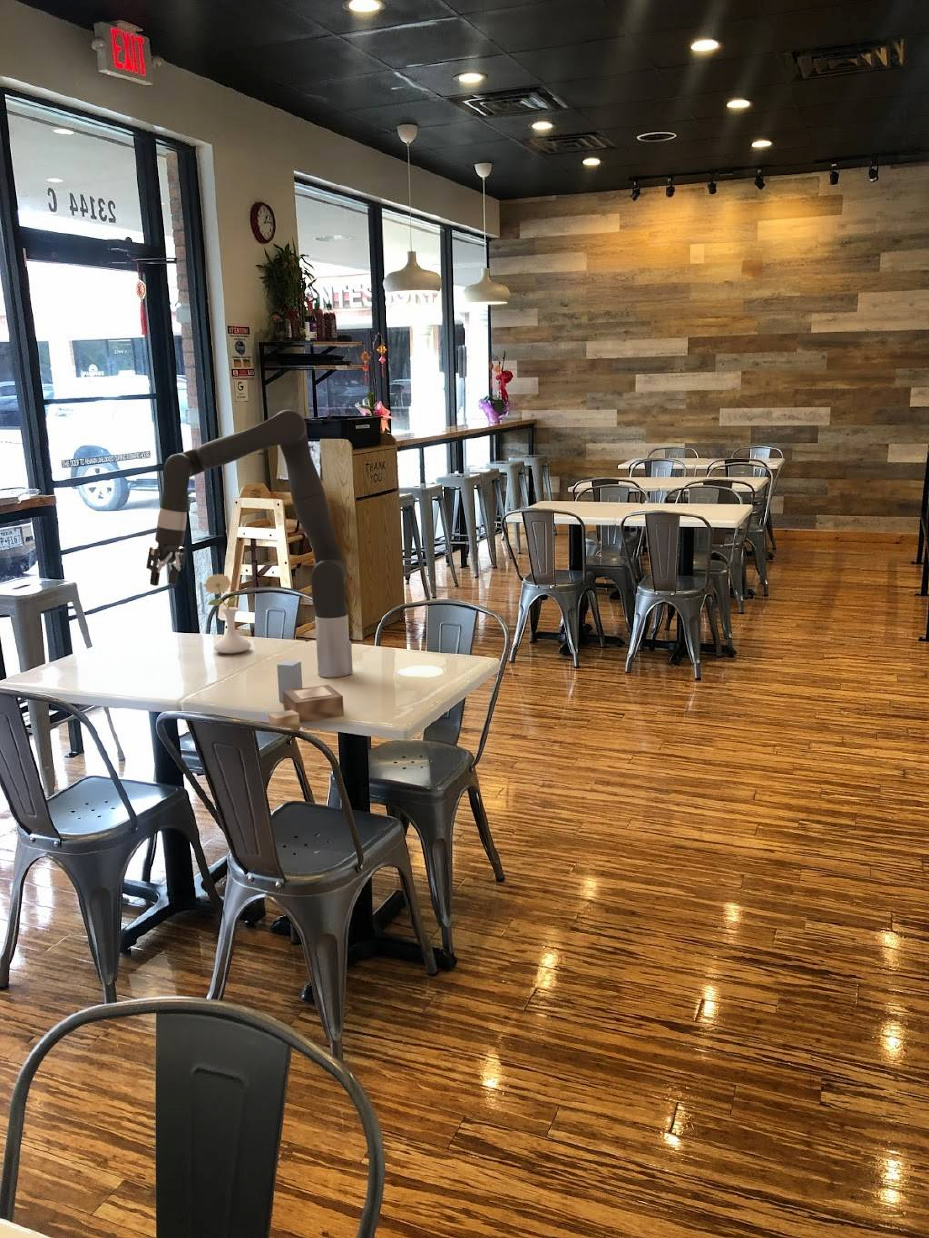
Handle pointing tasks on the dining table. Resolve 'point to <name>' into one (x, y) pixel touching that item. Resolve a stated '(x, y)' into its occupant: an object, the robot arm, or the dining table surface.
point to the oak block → (285, 719)
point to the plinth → (314, 702)
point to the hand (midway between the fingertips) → (163, 584)
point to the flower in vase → (231, 639)
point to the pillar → (289, 676)
